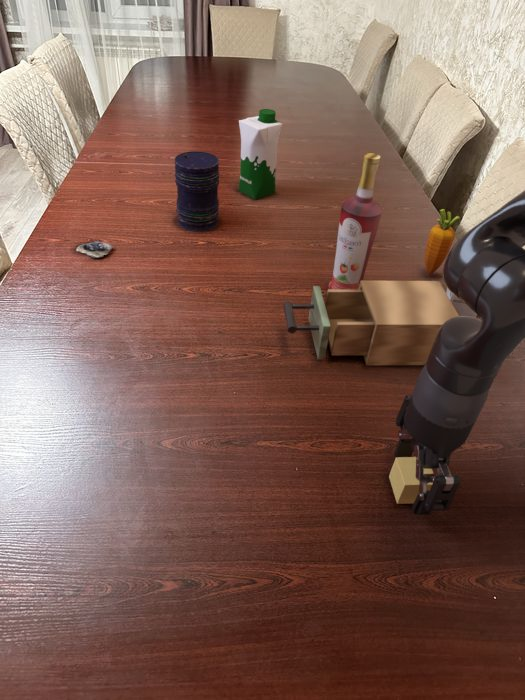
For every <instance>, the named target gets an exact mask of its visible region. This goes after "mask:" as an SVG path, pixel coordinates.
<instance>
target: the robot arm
mask: <svg viewBox="0 0 525 700" xmlns="http://www.w3.org/2000/svg"><path fill="white" fill-rule="evenodd" d="M524 247H525V189H524V190H523V191H521V192H520V193H518V194H517V195H516V196H514V197H512V198H511V199H510V200H508V201H507V202H506V203H505V204H503V205H502V206H501V207H499V208H498V209H497V210H495V211H494V212H492V214H490V215H489V216H487V217H486V218H484V219H483V220H482V221H480V222H479V223H477V224H476V225H475V226H473V227H472V228H471V229H470V230H468V231H467V232H466V233H464V234H463V235H461V237H460V238H459V239H458V240H457V241H456V242H455V244H454V245H452V247H451V248H450V250H449V252H448V254H447V256H446V258H445V260H444V264H443V268H442V280H443V284H444V285H445V287H446V289H447V288H448V289H449V290H450V291H451V292H452V293H453V294H454V295H455V296H456V297H457V298H459V299H460V300H461V301H462V302H464V303H465V304H466V305H467V306H468V307H469V308H470V309H471V310H473V311H474V312H475V313H476V314H477V316H478V317H476V318H475V317H470V316H457V317H453V318H451V319H449V320H447V321H446V322H445V323H444V324H443V325H442V326H441V328H440V329H439V331H438V333H437V336H436V338H435V341H434V343H433V346H432V349H431V351H430V354H429V357H428V359H427V362H426V364H425V365H423V367H422V369H421V371H420V373H419V375H418V377H417V380H416V381H415V382H416V383H415V385H414V388H413V391H412V393H411V394H406V395H405V396H404V399H403V401H402V404H401V407H400V408H399V411H398V413H397V416H396V419H395V425H396V426H397V427H400V429H399V431H398V434H397V436H398V443H397V445H396V448H395V451H394V453H393V456H394V458H395V459H396V457H416V479H417V480H418V481H419V493H418V495H417V497H416V499H415V501H414V503H412V505H411V511H412V514H413V515H417V516H430V514H431V513H432V512H439V511H442V512H443V511H448V510H449V508H450V506H451V504H452V503H453V500H454V498H455V496H456V493H457V491H458V489H459V487H460V485H461V477H460V475H459V474H457V473H455V474H452V473H451V470H450V468H449V465H450V460H451V455H452V453H453V452H455V451H456V450H457V449H459V448H461V447H462V446H463V445H464V444H465V443H466V441H467V439H468V437H469V436H470V434H471V432H472V430H473V428H474V426H475V424H476V422H477V420H478V418H479V416H480V414H481V412H482V410H483V408H484V406H485V404H486V402H487V399H488V395H489V391H490V389H491V387H492V385H493V382H494V380H495V379H496V376H497V375H498V372H499V371H500V369H501V367H502V365H503V363H504V361H505V360H506V359H507V358H508V356H510V354H511V353H512V352H513V351H514V350H515V349H516V348H517V346H519V345H520V343H521V342H522V341H524V339H525V248H524ZM412 455H413V456H412ZM395 459H394V460H395ZM424 469H432V470H435V469H436V472H435V473H434V474H424ZM428 483H433V484H432V486H431V489H430V490H427V484H428Z"/></svg>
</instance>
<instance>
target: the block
mask: <svg viewBox="0 0 525 700" xmlns="http://www.w3.org/2000/svg"><path fill="white" fill-rule="evenodd" d="M424 474H435V473H434V470H433V469H424ZM388 478H389V482H390V485H391V488H392V492H393V495H394V498H395V502H396V504H397V505H404V504H405V505H406V504H407V505H408V504H409V505H410V504H414V501H415V499H416V497H417V495H418V493H419V481H418V480H417V479H416V457H415V456H411V457H396V459H394V462H393V464H392V466H391V469H390V471H389V475H388ZM432 484H433V483H428V484H427V490H430V489H431V486H432Z"/></svg>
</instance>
